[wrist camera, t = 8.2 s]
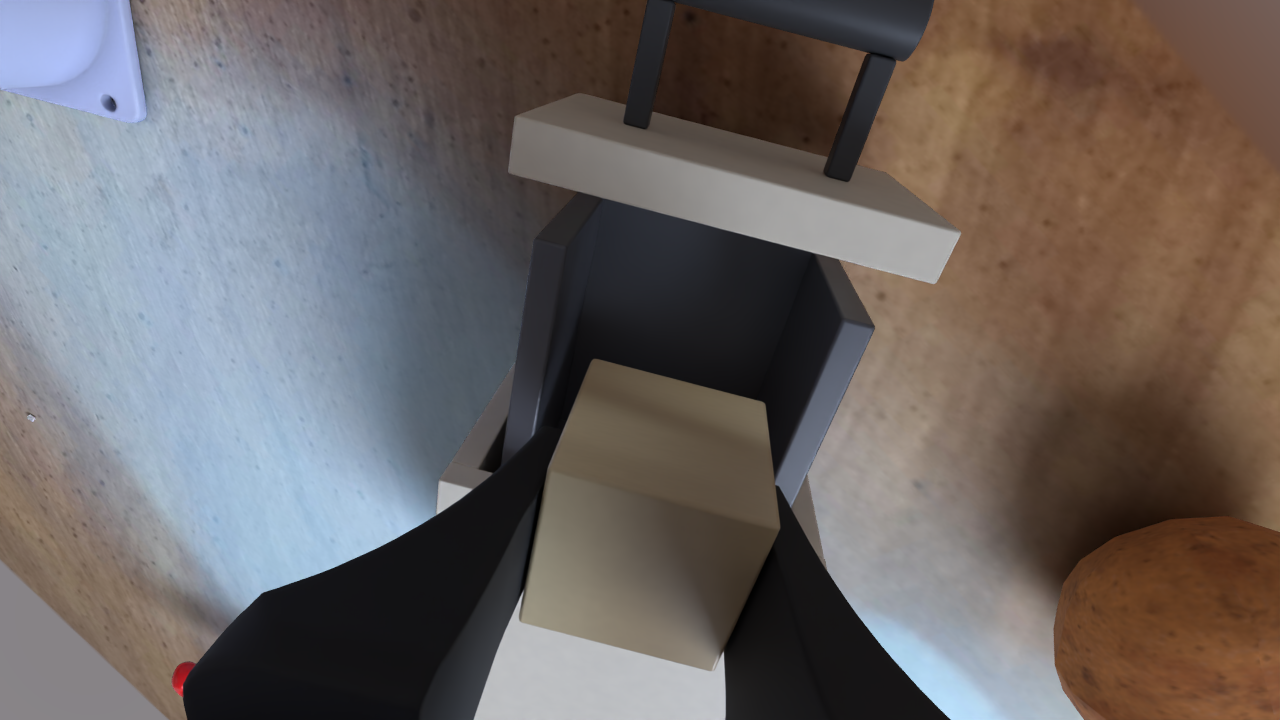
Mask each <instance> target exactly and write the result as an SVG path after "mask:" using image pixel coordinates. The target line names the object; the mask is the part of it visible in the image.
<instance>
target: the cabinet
mask: <svg viewBox="0 0 1280 720" xmlns="http://www.w3.org/2000/svg"><path fill="white" fill-rule="evenodd" d="M515 364H516V361H515V363H514V364H513V366H512V367H511V369H510V370H509V372H508V373H507V375H506V377H505V378H504V380H503V381H502V383H501V384H500V386H499V387H498V389H497V391H496V392H495V394H494V395H493V397H492V398H491V400H490V401H489V403H488V405H487V406H486V408H485V409H484V411H483V412H482V414H481V415H480V417H479V419H478V420H477V422H476V423H475V425H474V426H473V428H472V430H471V431H470V433H469V434H468V436H467V437H466V439H465V440H464V442H463V444H462V445H461V447H460V448H459V450H458V451H457V453H456V454H455V456H454V458H453V459H452V461H451V462H450V463H449V465H448V467H447V468H446V470H445V471H444V473H443V474H442V476H441V477H440V479H439V483H438V495H437V507H436V515H437V514H439V513H441V512H442V511H444V510H445V509H447V508H448V507H449V506H451V505H452V504H454V503H455V502H457V501H458V500H460V499H461V498H462V497H464V496H465V495H466V494H468V493H469V492H470V491H471V490H473V489H474V488H475V487H477V486H478V485H479V484H481V483H482V482H483V481H485V480H486V479H487V478H488V477H489V476H491V475H492V474H493V473H494V472H495V471H496V470H498V469H499V468H500V466H501V459H502V453H503V446H504V439H505V432H506V425H507V418H508V412H509V405H510V398H511V391H512V384H513V377H514V371H515ZM791 509H792V511H793V513H794V514H795V516H796V518H797V520H798V522H799V524H800V525H801V527H802V529H803V531H804V533H805V534H806V536H807V538H808V540H809V542H810V543H811V545H812V547H813V548H814V550H815V552H816V553H817V555H818V557H819V559H820V560H821V562H822V564H823V565H824V567H825V568H826V570H827V567H826V562H825V559H823V558H824V556H823V551H822V546H821V541H820V536H819V531H818V526H817V521H816V516H815V511H814V506H813V501H812V496H811V491H810V486H809V481H808V476H807V475H806V478H805V480H804V482H803V484H802V486H801V488H800V491H799V493H798V495H797V497H796V499H795V501H794V503H793V506H792V508H791ZM523 592H524V590H523ZM522 597H523V593H522V595H521V597H520V599H519V601H518V604H517V606H516V608H515V610H514V613H513V615H512V617H511V619H510V621H509V624H508V626H507V628H506V630H505V633H504V635H503V638H502V640H501V643H500V645H499V648H498V650H497V653H496V655H495V658H494V661H493V664H492V667H491V670H490V673H489V676H488V679H487V682H486V685H485V688H484V690H483V693H482V696H481V699H480V702H479V705H478V708H477V711H476V714H475V717H474V720H725V715H726V690H725V669H724V651H723V653H722V655H721V658H720V660H719V662H718V664H717V666H716V668H715V670H714V671H706V670H703V669H699V668H695V667H691V666H687V665H683V664H679V663H675V662H672V661H668V660H664V659H660V658H656V657H652V656H648V655H644V654H641V653H637V652H633V651H629V650H625V649H621V648H617V647H613V646H610V645H606V644H602V643H598V642H594V641H590V640H586V639H582V638H579V637H575V636H571V635H567V634H563V633H559V632H555V631H551V630H548V629H544V628H540V627H536V626H532V625H528V624H524V623H521V622H520V621H519V612H520V607H521V602H522Z"/></svg>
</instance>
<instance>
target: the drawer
mask: <svg viewBox="0 0 1280 720" xmlns="http://www.w3.org/2000/svg"><path fill="white" fill-rule="evenodd" d="M674 2H676V3H680V4H684V5H688V6H691V7H695V8H699V9H703V10H707V11H710V12H714V13H718V14H722V15H726V16H730V17H733V18H737V19H741V20H745V21H749V22H753V23H756V24H760V25H764V26H768V27H772V28H776V29H779V30H783V31H787V32H791V33H795V34H798V35H802V36H806V37H810V38H814V39H818V40H821V41H825V42H829V43H833V44H837V45H841V46H844V47H848V48H852V49H856V50H860V51H863V52H867V53H871V54H867V55H866V56H865V58H864V61H863V63H862V66H861V69H860V72H859V74H858V77H857V80H856V82H855V85H854V88H853V91H852V93H851V96H850V99H849V102H848V104H847V107H846V110H845V112H844V115H843V118H842V121H841V123H840V126H839V129H838V132H837V134H836V137H835V140H834V142H833V145H832V148H831V151H830V153H829V156H828V157H825V156H821V155H817V154H813V153H809V152H805V151H802V150H798V149H794V148H790V147H786V146H782V145H779V144H775V143H771V142H767V141H763V140H759V139H756V138H752V137H748V136H744V135H740V134H736V133H733V132H729V131H725V130H721V129H717V128H713V127H710V126H706V125H702V124H698V123H694V122H690V121H687V120H683V119H679V118H675V117H671V116H667V115H664V114H660V113H656V112H653V107H654V103H655V98H656V94H657V89H658V85H659V80H660V76H661V71H662V66H663V62H664V57H665V53H666V48H667V44H668V39H669V35H670V30H671V26H672V21H673V17H674V12H675V8H676V4H675V3H674ZM933 3H934V0H647V5H646V10H645V15H644V20H643V25H642V30H641V34H640V39H639V44H638V49H637V54H636V59H635V64H634V69H633V74H632V79H631V84H630V89H629V94H628V99H627V104H626V105H625V104H621V103H617V102H614V101H610V100H606V99H602V98H598V97H594V96H591V95H587V94H583V93H577V94H574V95H572V96H569V97H566V98H563V99H561V100H558V101H555V102H552V103H549V104H547V105H544V106H541V107H538V108H536V109H533V110H530V111H527V112H524V113H522V114H519V115H516V116H515V118H514V126H513V134H512V143H511V151H510V160H509V168H508V171H509V173H510V174H512V175H516V176H520V177H524V178H528V179H532V180H536V181H539V182H543V183H547V184H551V185H555V186H559V187H562V188H566V189H570V190H574V191H578V193H577V194H576V195H575V196H574V197H573V198H572V199H571V200H570V202H569V203H568V204H567V205H566V206H565V207H564V208H563V209H562V210H561V211H560V212H559V213H558V214H557V215H556V216H555V217H554V218H553V220H552V221H551V222H550V223H549V224H548V225H547V226H546V227H545V228H544V229H543V230H542V231H541V232H540V233H539V234H538V235H537V236H536V238H535V239H534V241H533V248H532V254H531V261H530V268H529V275H528V282H527V289H526V295H525V302H524V309H523V316H522V323H521V330H520V336H519V343H518V350H517V357H516V364H515V371H514V377H513V384H512V391H511V398H510V405H509V412H508V418H507V425H506V432H505V439H504V446H503V453H502V459H501V466H502V465H503V464H504V463H506V462H507V461H508V460H509V459H510V458H511V457H512V456H513V455H514V454H516V453H517V452H518V451H519V450H520V449H521V448H522V447H523V446H524V445H525V444H526V443H527V442H528V441H529V440H530V439H531V438H532V436H533V435H534V434H535V433H536V432H537V431H538V430H539V428H541V427H543V426H549V427H553V428H557V429H561V430H563V429H564V427H565V424H566V422H567V419H568V417H569V414H570V412H571V409H572V407H573V404H574V402H575V399H576V397H577V395H578V392H579V390H580V387H581V385H582V382H583V380H584V377H585V375H586V372H587V370H588V367H589V365H590V363H591V361H592V360H593V359H599V360H603V361H607V362H611V363H615V364H618V365H622V366H626V367H630V368H634V369H638V370H642V371H645V372H649V373H653V374H657V375H661V376H665V377H669V378H672V379H676V380H680V381H684V382H688V383H692V384H696V385H699V386H703V387H707V388H711V389H715V390H719V391H723V392H726V393H730V394H734V395H738V396H742V397H746V398H750V399H753V400H757V401H761V402H763V403H765V406H766V414H767V422H768V430H769V439H770V447H771V455H772V463H773V471H774V479H775V485H777V486H779V487H780V489H781V491H782V492H783V494H784V496H785V498H786V500H787V501H788V503H789V505H790V507H791V508H792V506H793V503H794V501H795V499H796V497H797V495H798V493H799V491H800V488H801V486H802V484H803V482H804V480H805V478H806V475H807V473H808V471H809V469H810V467H811V465H812V463H813V460H814V458H815V456H816V454H817V452H818V450H819V448H820V445H821V443H822V441H823V439H824V437H825V435H826V433H827V430H828V428H829V426H830V424H831V422H832V420H833V417H834V415H835V413H836V411H837V409H838V407H839V405H840V402H841V400H842V398H843V396H844V394H845V392H846V390H847V387H848V385H849V383H850V381H851V379H852V377H853V375H854V372H855V370H856V368H857V366H858V364H859V362H860V359H861V357H862V355H863V353H864V351H865V349H866V347H867V344H868V342H869V340H870V338H871V336H872V334H873V332H874V329H875V326H874V324H873V322H872V320H871V319H870V317H869V315H868V313H867V311H866V309H865V308H864V306H863V304H862V302H861V300H860V298H859V296H858V295H857V293H856V291H855V289H854V287H853V285H852V284H851V282H850V280H849V278H848V276H847V274H846V272H845V271H844V269H843V267H842V265H841V263H840V261H839V260H843V261H847V262H851V263H854V264H858V265H862V266H866V267H870V268H874V269H878V270H881V271H885V272H889V273H893V274H897V275H901V276H904V277H908V278H912V279H916V280H920V281H924V282H927V283H931V284H935V283H936V282H937V280H938V278H939V276H940V274H941V272H942V270H943V268H944V266H945V264H946V262H947V260H948V258H949V256H950V254H951V252H952V250H953V248H954V246H955V245H956V243H957V241H958V239H959V237H960V234H961V231H959V230H958V229H957V228H956V227H954V226H953V225H952V224H951V223H949V222H948V221H947V220H946V219H944V218H943V217H942V216H940V215H939V214H938V213H937V212H935V211H934V210H933V209H932V208H930V207H929V206H928V205H927V204H925V203H924V202H923V201H921V200H920V199H919V198H918V197H916V196H915V195H914V194H913V193H911V192H910V191H909V190H908V189H906V188H905V187H904V186H902V185H901V184H900V183H899V182H897V181H896V180H895V179H894V178H892V177H891V176H890V175H889V174H887V173H886V172H882V171H878V170H874V169H871V168H867V167H863V166H859V165H857V162H858V159H859V157H860V154H861V152H862V149H863V147H864V144H865V142H866V139H867V136H868V134H869V131H870V129H871V126H872V124H873V121H874V119H875V116H876V113H877V111H878V108H879V106H880V103H881V101H882V98H883V96H884V93H885V90H886V88H887V85H888V83H889V80H890V78H891V75H892V73H893V70H894V67H895V65H896V60H898V61H905V60H907V59H908V58H909V57H910V55H911V54H912V53H913V51H914V50H915V48H916V47H917V45H918V43H919V41H920V39H921V37H922V35H923V33H924V31H925V29H926V26H927V24H928V21H929V18H930V15H931V12H932V8H933ZM838 259H839V260H838ZM501 466H500V467H501Z"/></svg>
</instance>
